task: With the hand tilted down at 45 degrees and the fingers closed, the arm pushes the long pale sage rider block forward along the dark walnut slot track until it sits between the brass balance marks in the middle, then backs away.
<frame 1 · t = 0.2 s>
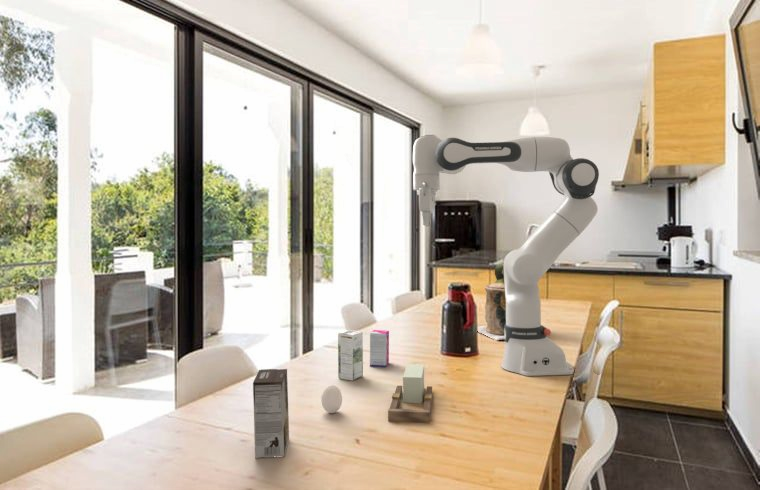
hand: (427, 226, 162), 47 cm above the table, tool pointing down, fingers open, 8 cm apart
slot track: (412, 405, 129), on the table
syrup box: (351, 378, 153), on the table
coffee box: (272, 449, 105), on the table
rider: (414, 395, 136), on the table
cookie jar: (507, 333, 212), on the table
egg: (332, 413, 125), on the table
supplement box: (379, 365, 167), on the table
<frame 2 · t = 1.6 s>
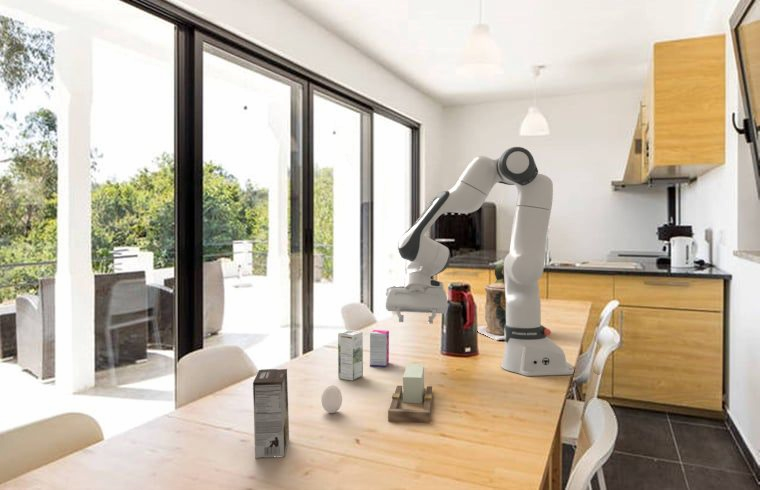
hand: (415, 321, 155), 17 cm above the table, tool tilted 45°, fingers open, 8 cm apart
nothing on the table moved.
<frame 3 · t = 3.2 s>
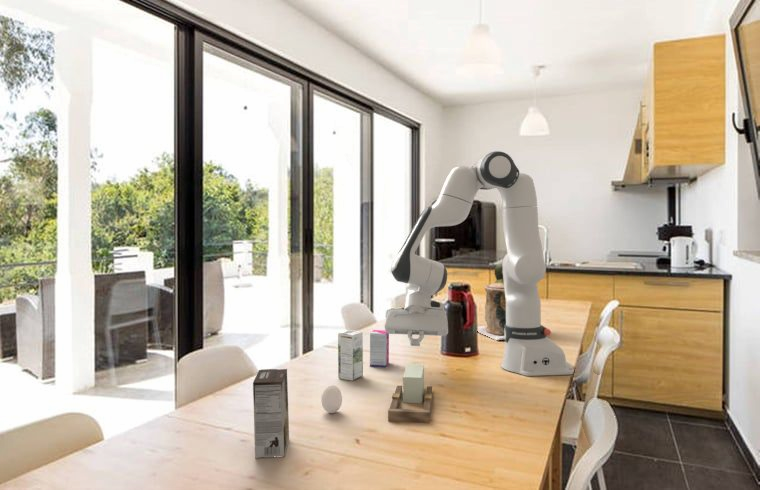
hand: (415, 345, 151), 10 cm above the table, tool tilted 45°, fingers closed
nothing on the table moved.
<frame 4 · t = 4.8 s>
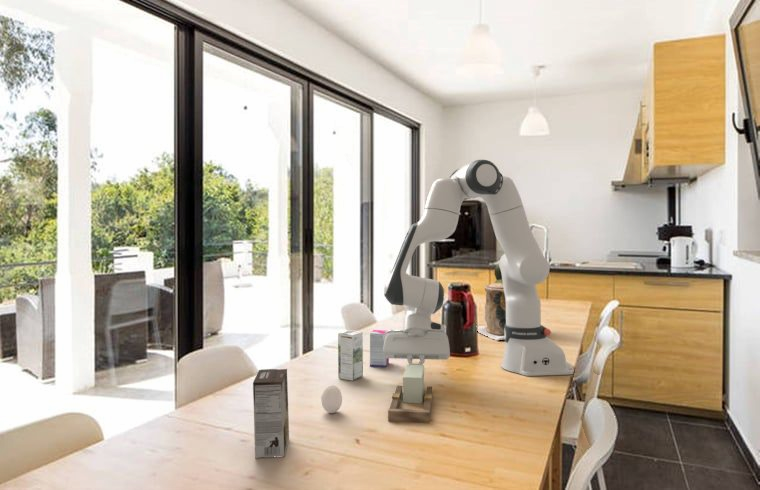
hand: (415, 370, 143), 5 cm above the table, tool tilted 45°, fingers closed, pressing on rider
rider: (414, 395, 136), on the table, touching gripper
everything else where it was.
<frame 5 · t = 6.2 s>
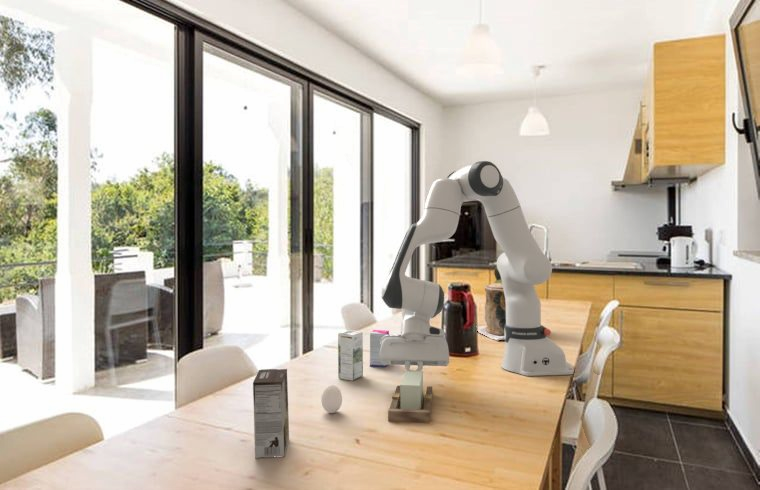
hand: (413, 377, 136), 5 cm above the table, tool tilted 45°, fingers closed, pressing on rider
rider: (412, 403, 130), on the table, touching gripper
everything else where it was.
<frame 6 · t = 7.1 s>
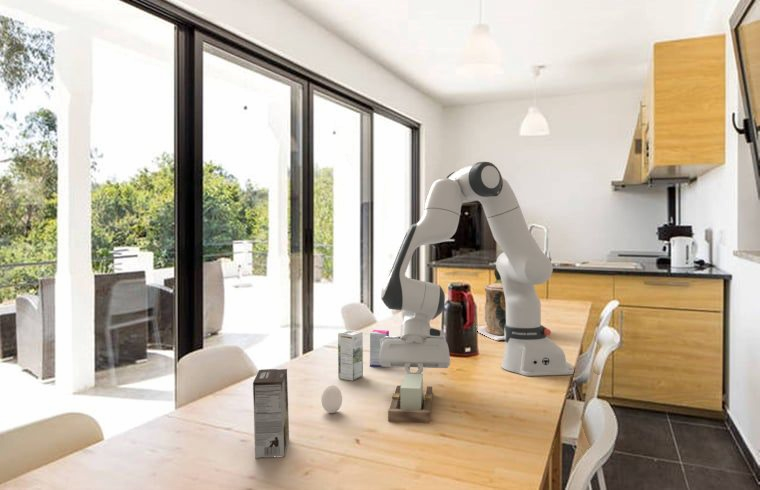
hand: (413, 380, 134), 5 cm above the table, tool tilted 45°, fingers closed, pressing on rider
rider: (412, 406, 128), on the table, touching gripper
everything else where it was.
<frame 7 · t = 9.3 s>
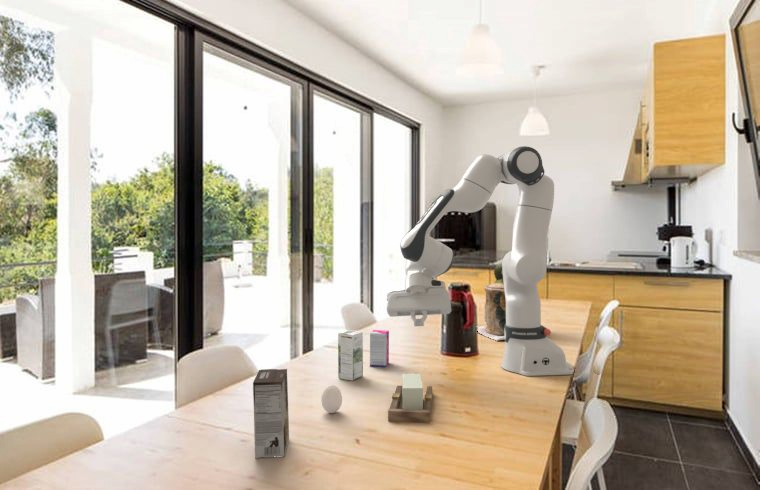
hand: (419, 325, 148), 17 cm above the table, tool tilted 45°, fingers closed
rider: (412, 406, 128), on the table
everything else where it was.
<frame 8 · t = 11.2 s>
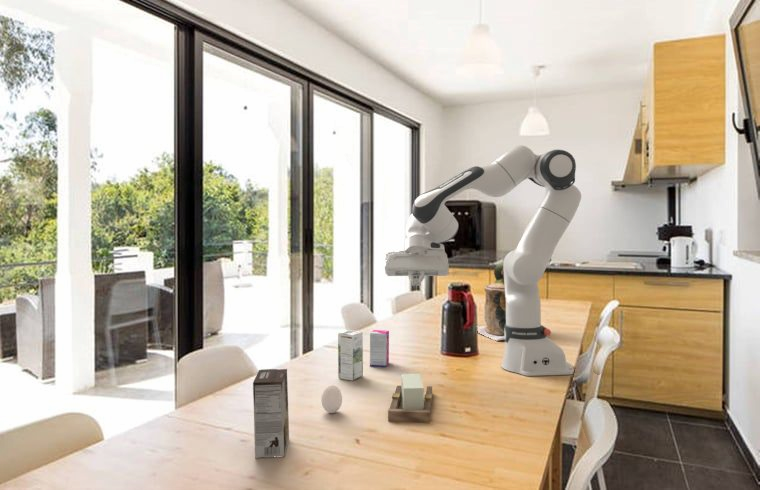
hand: (416, 284, 150), 29 cm above the table, tool tilted 45°, fingers closed
nothing on the table moved.
at the end: rider 0.8 cm from the slot track (horizontally); rider tilted 0°; the gripper is holding nothing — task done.
